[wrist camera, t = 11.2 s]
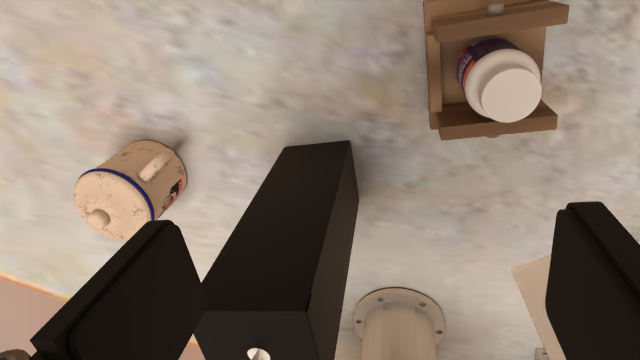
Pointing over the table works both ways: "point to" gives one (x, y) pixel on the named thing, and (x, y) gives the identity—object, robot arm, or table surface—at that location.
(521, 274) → the milk
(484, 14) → the holder
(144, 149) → the teacup with lid
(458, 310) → the table surface
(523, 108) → the pill bottle
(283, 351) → the tissue box
